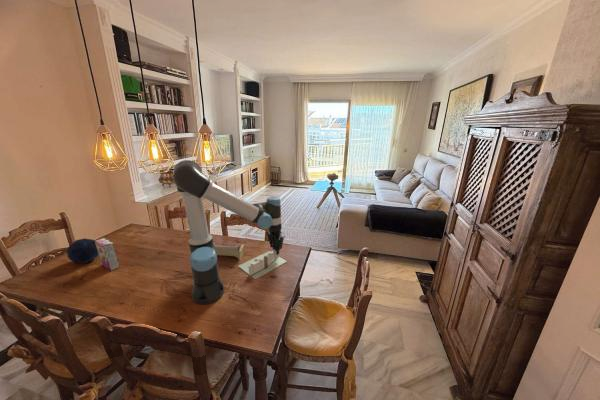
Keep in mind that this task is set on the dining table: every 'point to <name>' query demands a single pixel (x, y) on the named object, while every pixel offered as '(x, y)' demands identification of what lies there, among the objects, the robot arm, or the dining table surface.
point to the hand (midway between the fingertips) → (276, 258)
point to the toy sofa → (229, 250)
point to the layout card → (270, 267)
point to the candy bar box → (107, 254)
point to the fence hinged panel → (270, 258)
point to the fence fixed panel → (258, 265)
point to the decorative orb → (82, 251)
